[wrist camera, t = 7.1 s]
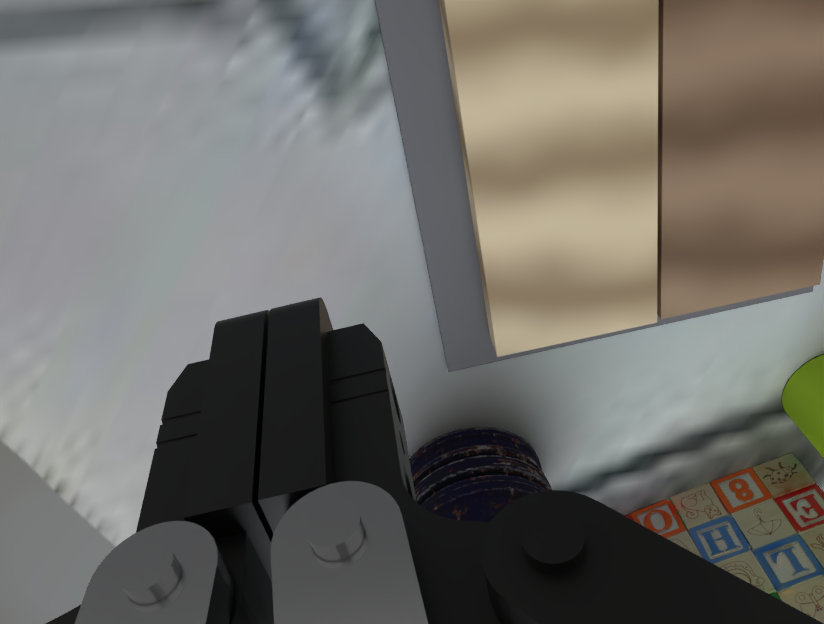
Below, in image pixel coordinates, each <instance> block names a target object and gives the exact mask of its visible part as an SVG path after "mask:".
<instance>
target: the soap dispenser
mask: <svg viewBox="0 0 824 624" xmlns="http://www.w3.org/2000/svg"><path fill="white" fill-rule="evenodd" d="M782 405H783V408H784V410H785V412H786V413H787V414H788V415H789V417H790V418H791V419H792V420H793V421H794V423H795V424H796V425H797V426H798V428H799V429H800V430H801V431H802V432H803V434H804V435H805V436H806V437H807V439H808V440H809V441H810V442H811V443H812V445H813V446H814V447H815V448H816V450H817V451H818V452H819V453H820V454H821V456H822V457H823V458H824V355H821V356H818V357H816V358H814V359H812V360H811V361H809V362H807V363H806V364H804V365H803V366H802V367H801V368H799V369H798V370H797V371H796V372H795V373H794V374H793V375H792V377H791V378H790V379H789V381H788V382H787V384H786V386H785V388H784V391H783V394H782Z"/></svg>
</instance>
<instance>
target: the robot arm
mask: <svg viewBox="0 0 824 624" xmlns="http://www.w3.org/2000/svg"><path fill="white" fill-rule="evenodd" d="M162 423H163V425H160V429H159V433H158V438H157V442H156V443H157V449H155V451H154V455H153V460H152V464H151V469H150V473H149V478H148V482H147V486H146V491H145V495H144V500H143V504H142V509H141V513H140V518H139V522H138V526H137V531H136V533H135V534H133V535H132V536H130V537H129V538H127V539H126V540H124V541H123V542H122V543H120V544H119V545H118V546H117V547H115V548H114V549H113V550H112V551H111V552H110V553H109V555H107V556H106V558H105V559H104V560H103V561H102V562H101V564H100V565H99V566H98V568H97V569H96V571H95V573H94V574H93V576H92V578H91V580H90V582H89V585H88V587H87V590H86V593H85V595H84V598H83V601H82V604H81V605H79V606H78V607H76V608H74V609H73V610H71V611H69V612H68V613H65V614H63V615H62V616H60V617H58V618H56V619H54V620H52V621H50V622H48V623H46V624H824V623H822V622H820V621H818V620H816V619H814V618H813V617H811V616H809V615H807V614H805V613H803V612H801V611H800V610H798V609H796V608H794V607H792V606H790V605H788V604H787V603H785V602H783V601H781V600H779V599H777V598H776V597H774V596H772V595H770V594H768V593H766V592H764V591H763V590H761V589H759V588H757V587H755V586H753V585H752V584H750V583H748V582H746V581H744V580H742V579H740V578H739V577H737V576H735V575H733V574H731V573H729V572H727V571H726V570H724V569H722V568H720V567H718V566H716V565H715V564H713V563H711V562H709V561H707V560H705V559H703V558H702V557H700V556H698V555H696V554H694V553H692V552H690V551H689V550H687V549H685V548H683V547H681V546H679V545H678V544H676V543H674V542H672V541H670V540H668V539H666V538H665V537H663V536H661V535H659V534H657V533H655V532H653V531H652V530H650V529H648V528H646V527H644V526H642V525H641V524H639V523H637V522H635V521H633V520H631V519H629V518H628V517H626V516H624V515H622V514H620V513H618V512H616V511H615V510H613V509H611V508H609V507H607V506H605V505H604V504H602V503H600V502H598V501H596V500H594V499H592V498H589V497H587V496H585V495H581V494H578V493H574V492H568V491H542V492H536V493H532V494H529V495H525V496H523V497H521V498H519V499H516V500H514V501H513V502H511V503H510V504H508V505H506V506H505V507H504V508H503V509H502V510H500V511H499V512H498V513H497V514H496V515H495V517H494V518H493V519H492V520H491V522H475V521H461V520H453V519H449V518H445V517H441V516H439V515H436V514H434V513H432V512H430V511H428V510H426V509H425V508H423V507H422V506H420V505H419V504H418V503H417V502H416V496H415V490H414V484H413V478H412V473H411V466H410V460H409V454H408V450H407V442H406V436H405V430H404V424H403V419H402V415H401V412H400V408H399V404H398V401H397V397H396V394H395V390H394V386H393V383H392V379H391V375H390V372H389V368H388V365H387V361H386V357H385V354H384V350H383V346H382V343H381V341H380V340H379V339H378V338H377V337H376V336H375V335H374V334H373V333H372V332H371V331H370V330H369V329H368V328H367V327H366V326H365V325H364V323H363V324H359V325H354V326H350V327H346V328H342V329H337V330H333V328H332V325H331V322H330V319H329V315H328V312H327V309H326V307H325V304H324V302H323V300H322V298H316V299H312V300H308V301H303V302H299V303H295V304H290V305H286V306H282V307H278V308H273V309H271V310H270V311H268V310H265V311H261V312H257V313H253V314H248V315H244V316H240V317H235V318H231V319H227V320H222V321H218V322H217V323H216V325H215V328H214V334H213V340H212V346H211V352H210V359H209V360H205V361H200V362H196V363H192V364H188V365H187V366H186V367H185V369H184V370H183V372H182V373H181V374H180V376H179V377H178V378H177V380H176V381H175V383H174V384H173V385H172V387H171V388H170V390H169V391H168V393H167V398H166V402H165V407H164V411H163V415H162Z"/></svg>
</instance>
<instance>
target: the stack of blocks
mask: <svg viewBox="0 0 824 624" xmlns="http://www.w3.org/2000/svg"><path fill="white" fill-rule="evenodd" d="M625 516H626V517H628V518H629V519H631V520H633V521H635V522H637V523H639V524H641V525H642V526H644V527H646V528H648V529H650V530H652V531H653V532H655V533H657V534H659V535H661V536H663V537H665V538H666V539H668V540H670V541H672V542H674V543H676V544H678V545H679V546H681V547H683V548H685V549H687V550H689V551H690V552H692V553H694V554H696V555H698V556H700V557H702V558H703V559H705V560H707V561H709V562H711V563H713V564H715V565H716V566H718V567H720V568H722V569H724V570H726V571H727V572H729V573H731V574H733V575H735V576H737V577H739V578H740V579H742V580H744V581H746V582H748V583H750V584H752V585H753V586H755V587H757V588H759V589H761V590H763V591H764V592H766V593H768V594H770V595H772V596H774V597H776V598H777V599H779V600H781V601H783V602H785V603H787V604H788V605H790V606H792V607H794V608H796V609H798V610H800V611H801V612H803V613H805V614H807V615H809V616H811V617H813V618H814V619H816V620H818V621H820V622H822V623H824V492H823V491H822V490H821V489H820V487H819V486H818V485H816V483H815V481H814V479H813V478H812V477H811V476H810V474H809V473H808V472H807V470H806V469H805V468H804V467H803V465H802V464H801V463H800V462H799V460H798V459H797V458H796V457H795V455H794V454H793V453H790V454H787V455H784V456H782V457H779V458H776V459H774V460H771V461H768V462H765V463H763V464H760V465H757V466H754V467H751V468H747V469H744V470H742V471H739V472H736V473H733V474H731V475H728V476H725V477H723V478H720V479H717V480H714V481H712V482H710V483H706V484H704V485H701V486H698V487H695V488H693V489H690V490H687V491H684V492H682V493H679V494H677V495H674V496H671V497H670V498H669V499H667V500H663V501H661V502H659V503H656V504H654V505H651V506H648V507H645V508H643V509H640V510H637V511H635V512H632V513H631V514H629V515H625Z"/></svg>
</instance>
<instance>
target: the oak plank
mask: <svg viewBox="0 0 824 624" xmlns="http://www.w3.org/2000/svg"><path fill="white" fill-rule="evenodd" d="M439 5H440V11H441V18H442V24H443V31H444V37H445V44H446V51H447V57H448V64H449V70H450V77H451V83H452V90H453V96H454V103H455V110H456V116H457V123H458V129H459V136H460V142H461V149H462V156H463V162H464V169H465V175H466V182H467V188H468V195H469V202H470V208H471V215H472V221H473V228H474V234H475V241H476V248H477V254H478V261H479V267H480V274H481V280H482V287H483V293H484V300H485V307H486V313H487V320H488V326H489V333H490V338H491V341H492V343H493V346H494V349H495V352H496V355H497V357H500V356H505V355H509V354H514V353H519V352H523V351H528V350H532V349H537V348H542V347H546V346H551V345H556V344H560V343H565V342H569V341H574V340H579V339H583V338H588V337H593V336H597V335H602V334H606V333H611V332H616V331H620V330H625V329H630V328H634V327H639V326H643V325H648V324H653V323H657V236H658V5H659V0H439Z"/></svg>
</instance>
